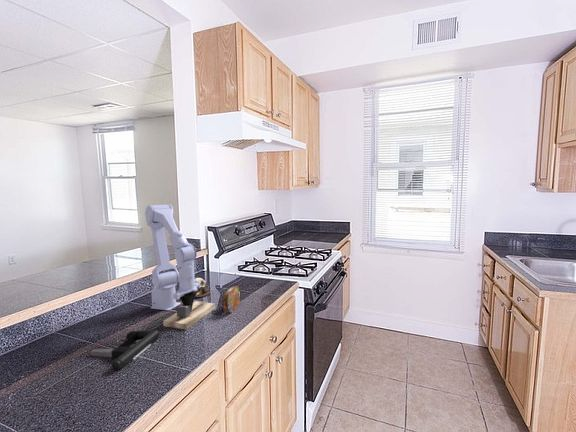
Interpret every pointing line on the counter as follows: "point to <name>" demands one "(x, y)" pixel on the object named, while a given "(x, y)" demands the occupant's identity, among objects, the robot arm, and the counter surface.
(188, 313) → the fader knob
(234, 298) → the tin
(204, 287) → the skull
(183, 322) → the slider board
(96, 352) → the door handle
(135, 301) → the counter surface
